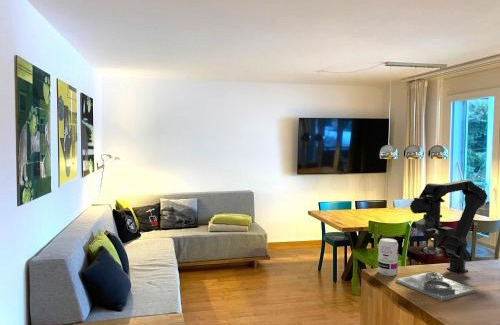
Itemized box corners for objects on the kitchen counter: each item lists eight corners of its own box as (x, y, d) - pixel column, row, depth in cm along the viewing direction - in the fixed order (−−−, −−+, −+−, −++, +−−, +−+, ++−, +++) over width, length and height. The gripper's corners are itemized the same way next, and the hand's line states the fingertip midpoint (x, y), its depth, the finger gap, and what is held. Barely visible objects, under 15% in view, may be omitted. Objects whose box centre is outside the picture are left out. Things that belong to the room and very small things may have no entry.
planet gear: (430, 249, 180) (431, 236, 180) (442, 253, 174) (443, 240, 174) (420, 251, 177) (420, 238, 177) (432, 255, 172) (433, 241, 171)
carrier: (428, 274, 175) (429, 266, 175) (476, 292, 156) (476, 282, 156) (395, 281, 167) (396, 272, 166) (441, 301, 147) (442, 290, 147)
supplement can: (394, 270, 181) (395, 238, 180) (399, 276, 173) (400, 242, 172) (376, 269, 182) (377, 237, 181) (380, 276, 174) (381, 242, 173)
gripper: (403, 210, 180) (402, 244, 181) (438, 217, 163) (437, 255, 164) (420, 208, 185) (419, 241, 186) (456, 215, 168) (455, 251, 169)
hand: (431, 247), depth 176 cm, fingers closed on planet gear, 3 cm apart
